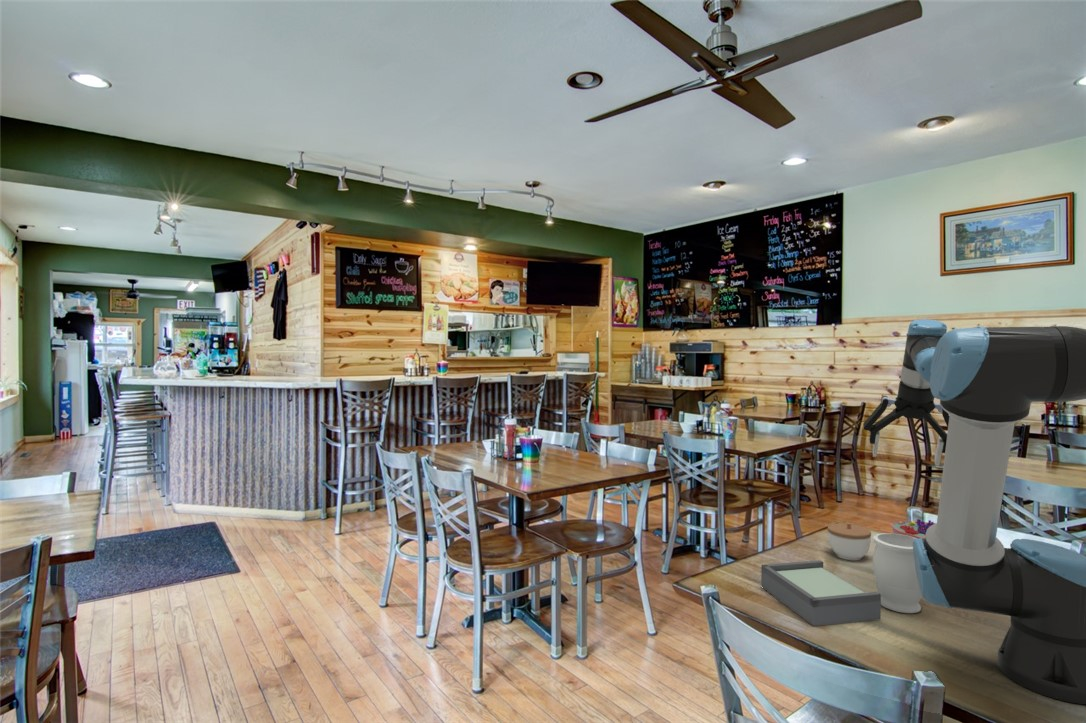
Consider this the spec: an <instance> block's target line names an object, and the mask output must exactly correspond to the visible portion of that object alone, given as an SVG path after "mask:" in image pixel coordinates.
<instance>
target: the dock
mask: <svg viewBox="0 0 1086 723" xmlns="http://www.w3.org/2000/svg"><path fill="white" fill-rule="evenodd" d="M760 570H761V571H760V572H761V573H760V576H761V584H760V585H761V586H762V587H763V588H764V591H766V590H767V591H768V592H767V591H766V592H767V593H769V594H770V593H771V594H772V595H771V594H770V595H771V596H773V597H774V598H775V597H776V598H775V599H776V600H778V601H779V602H781V603H782V604H783V605H785V606H786V607H787V608H788V609H790V610H792V611H793V612H794V613H795V614H796V615H798V616H799V617H800V618H802V619H804V620H805V622H807V623H808V624H810V625H811V626H813V627H818V626H819V627H820V626H827V625H839V624H848V623H859V622H868V621H869V622H870V621H878V620H881V617H882V616H881V614H882V612H881V608H882V605H881V594H880V593H879V592H878V591H871V592H866V591H864V590H862V589H861V588H859V587H857V586H855V585H854V584H852V583H850V582H848V581H847V580H845V579H843V578H841V577H840V576H838V575H836V574H835V573H833V572H831V571H829V570H828V569H826V568H825V567H824V561H823V560H820V559H818V560H807V561H806V560H805V561H794V562H782V563H781V562H780V563H767V564H761V569H760ZM762 587H761V588H762ZM763 588H762V589H763Z"/></svg>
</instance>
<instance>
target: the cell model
mask: <svg viewBox="0 0 1086 723" xmlns="http://www.w3.org/2000/svg"><path fill="white" fill-rule="evenodd" d="M936 523H937V522H934V521H932V520H928V521H927V522H925V521H922V520H921V519H918V518H917V519H916V521H915V520H910V521H909V520H900V521H895V522H892V523H890V528H891V530H892V532H893V534H901V535H906V536H910V537H914V538H917V539H919V538H923V539H925V534H926V531H927V529H928V528H929V527H930V526H932V525H933V524H936Z"/></svg>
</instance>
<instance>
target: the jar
mask: <svg viewBox="0 0 1086 723" xmlns="http://www.w3.org/2000/svg"><path fill="white" fill-rule="evenodd" d="M915 539H917V538H914V537H910V536H906V535H901V534H894V533H891V532H890V533H884V532H883V533H876V534H874V535H873V538H872V541H873V543H874V544H875V546H874V548H873V555H872V569H873V575H874V582H875V585H876V586H875V587H876V589H877V592H878V593H880V594H881V607H883V608H886V609H888V610H891V611H894V612H897V613H902V614H916V613H919V612H920V611H921V609H922V606H921V605H920V601H921V599H922V597H923V596H922V594H921V591H920V588H919V584H918V579H917V574H916V569H915V562H914V555H913V541H914V540H915Z"/></svg>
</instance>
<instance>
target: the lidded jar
mask: <svg viewBox="0 0 1086 723" xmlns="http://www.w3.org/2000/svg"><path fill="white" fill-rule="evenodd" d="M827 531H828V532H827V538H828V543H829V546H830V548H831V550H832V551H833V552H834V553H835V554H836V556H837V557H838V558H840V559H843V560H847V561H860V560H862V558H863V557H865V556H866V555H867V553H868V552H869V550H870V547H871V538H872V532H871V530H870V529H869V528H867V527H864V526H861V525H857V524H852V523H851V522H846V523H838V522H837V523H831V524H829V525H828V526H827Z"/></svg>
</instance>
